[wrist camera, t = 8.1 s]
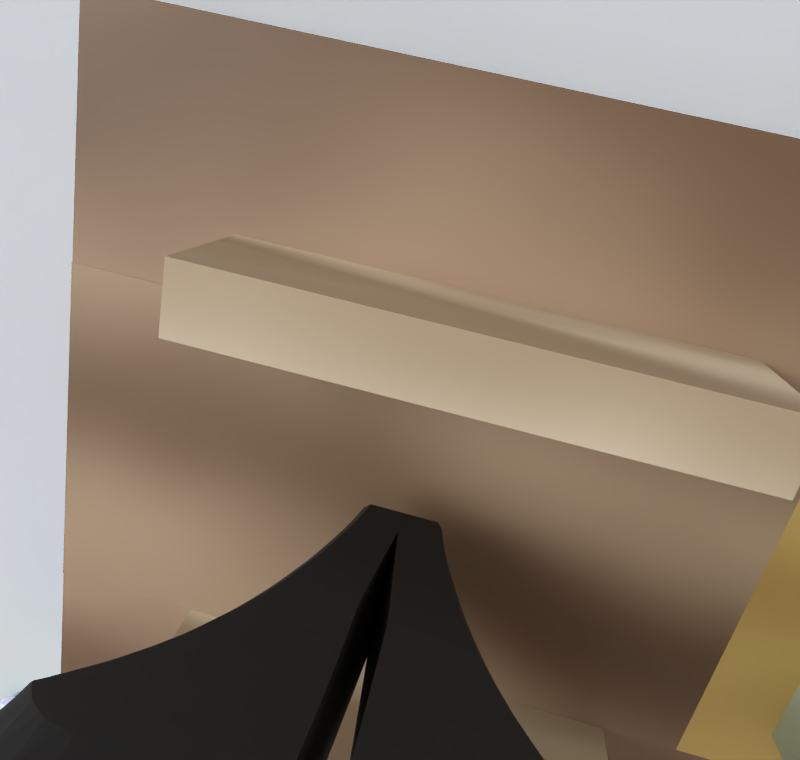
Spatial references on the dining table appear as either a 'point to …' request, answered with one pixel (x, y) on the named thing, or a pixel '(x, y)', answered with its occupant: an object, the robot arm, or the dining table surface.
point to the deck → (438, 367)
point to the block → (789, 730)
